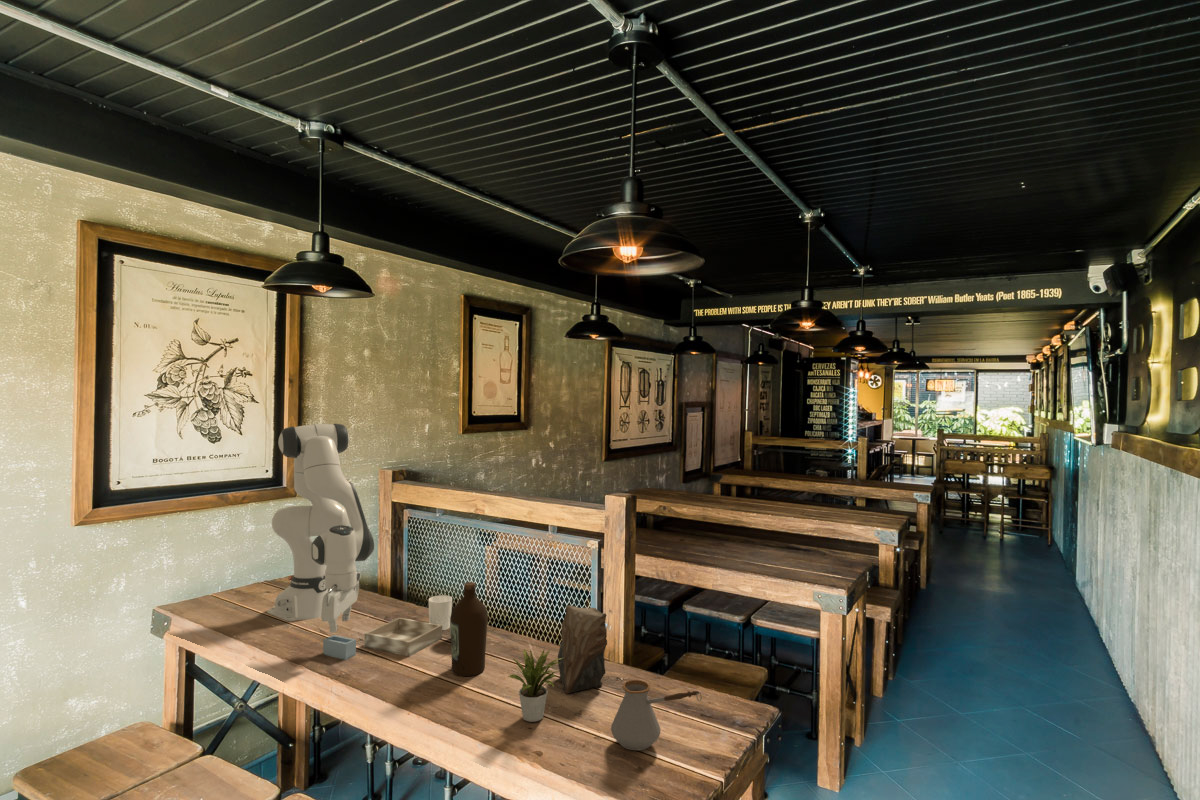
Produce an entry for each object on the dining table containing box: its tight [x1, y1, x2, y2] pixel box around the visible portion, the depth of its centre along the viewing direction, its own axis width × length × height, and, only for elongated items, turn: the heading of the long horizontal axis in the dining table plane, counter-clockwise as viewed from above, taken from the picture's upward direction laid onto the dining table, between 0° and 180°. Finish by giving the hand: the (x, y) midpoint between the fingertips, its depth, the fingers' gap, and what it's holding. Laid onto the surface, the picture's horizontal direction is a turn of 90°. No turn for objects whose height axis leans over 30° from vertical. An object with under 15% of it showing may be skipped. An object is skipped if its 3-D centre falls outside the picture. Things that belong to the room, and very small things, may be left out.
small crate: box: [322, 634, 357, 661], centre depth 189 cm, size 9×4×5 cm, turn 68°
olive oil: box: [450, 581, 489, 677], centre depth 181 cm, size 11×11×25 cm
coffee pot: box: [610, 679, 702, 751], centre depth 141 cm, size 21×12×15 cm, turn 62°
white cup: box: [428, 594, 453, 631], centre depth 214 cm, size 8×8×10 cm
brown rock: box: [557, 604, 608, 695], centre depth 174 cm, size 13×13×20 cm
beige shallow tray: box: [363, 617, 443, 658], centre depth 199 cm, size 18×16×4 cm
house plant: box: [508, 648, 563, 723], centre depth 153 cm, size 14×14×16 cm
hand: (339, 626), depth 189 cm, fingers open, 8 cm apart
